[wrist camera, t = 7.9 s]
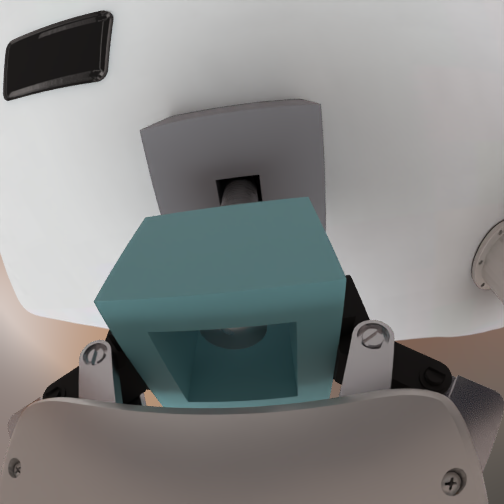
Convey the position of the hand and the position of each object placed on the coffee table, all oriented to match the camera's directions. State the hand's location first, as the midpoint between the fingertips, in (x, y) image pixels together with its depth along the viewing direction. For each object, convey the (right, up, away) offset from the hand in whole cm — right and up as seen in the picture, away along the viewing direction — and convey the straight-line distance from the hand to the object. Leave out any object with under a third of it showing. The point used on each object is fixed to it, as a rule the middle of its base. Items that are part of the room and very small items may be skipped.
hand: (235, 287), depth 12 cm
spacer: (0, +1, +1) cm, 1 cm away
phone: (-20, +22, +7) cm, 31 cm away
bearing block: (0, +10, +15) cm, 18 cm away
